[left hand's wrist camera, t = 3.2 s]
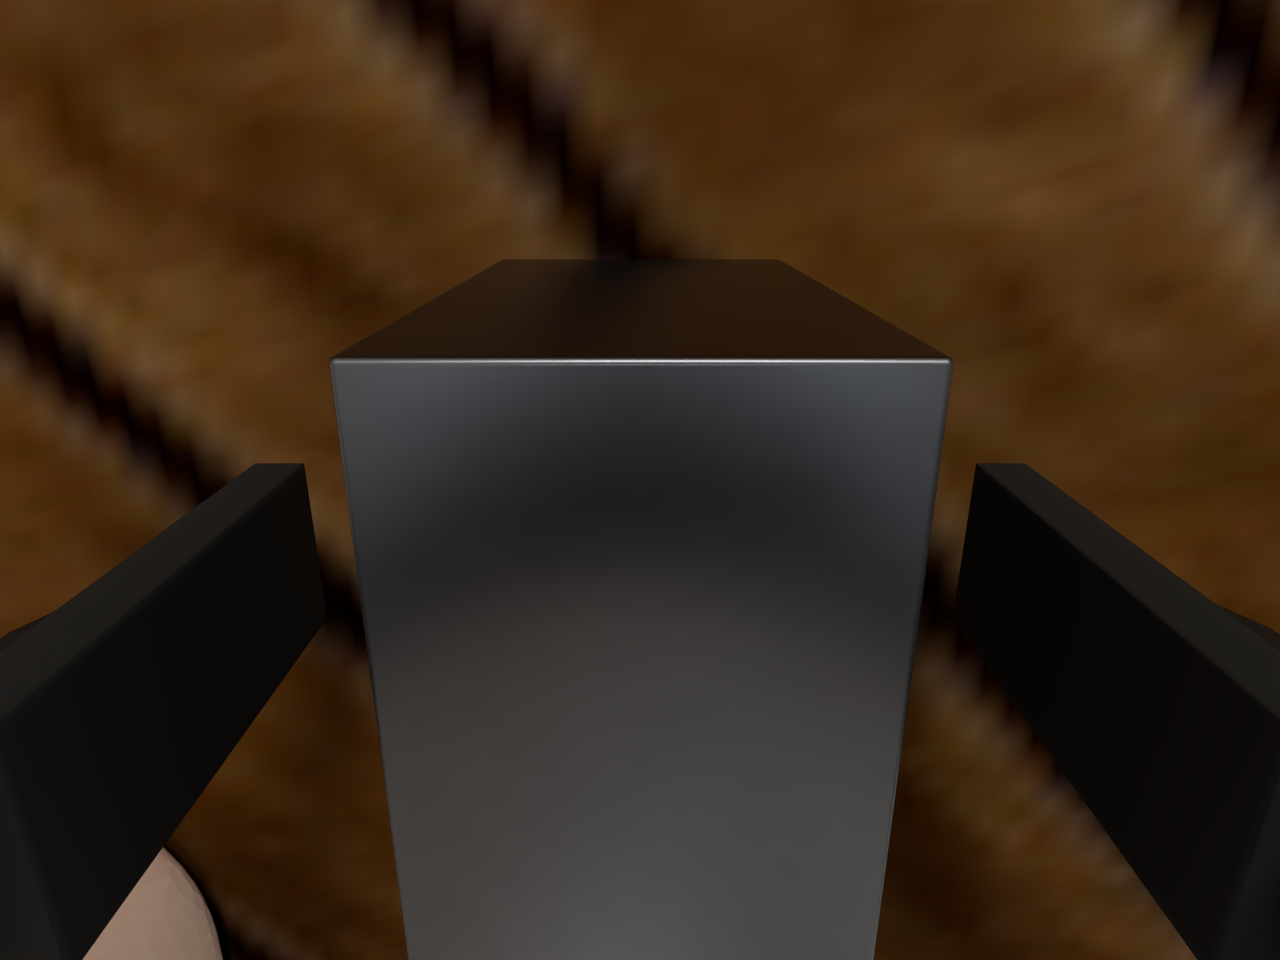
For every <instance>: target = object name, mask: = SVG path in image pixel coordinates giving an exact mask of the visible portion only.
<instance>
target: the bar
mask: <svg viewBox="0 0 1280 960" xmlns="http://www.w3.org/2000/svg"><path fill="white" fill-rule="evenodd" d="M329 367H330V375H331V382H332V390H333V397H334V405H335V412H336V420H337V427H338V435H339V442H340V450H341V457H342V465H343V472H344V480H345V487H346V495H347V502H348V510H349V517H350V525H351V532H352V540H353V547H354V555H355V562H356V570H357V577H358V585H359V592H360V600H361V607H362V615H363V622H364V630H365V637H366V645H367V652H368V660H369V667H370V675H371V682H372V690H373V697H374V705H375V712H376V720H377V727H378V735H379V742H380V750H381V757H382V765H383V772H384V780H385V787H386V795H387V802H388V810H389V817H390V825H391V832H392V840H393V847H394V855H395V862H396V870H397V877H398V885H399V892H400V900H401V907H402V915H403V922H404V930H405V937H406V945H407V952H408V960H873V958H874V951H875V944H876V936H877V929H878V921H879V914H880V906H881V899H882V891H883V884H884V877H885V869H886V862H887V854H888V847H889V839H890V832H891V824H892V817H893V810H894V802H895V795H896V787H897V780H898V772H899V765H900V757H901V750H902V743H903V735H904V728H905V720H906V713H907V705H908V698H909V690H910V683H911V676H912V668H913V661H914V653H915V646H916V638H917V631H918V623H919V616H920V609H921V601H922V594H923V586H924V579H925V571H926V564H927V556H928V549H929V542H930V534H931V527H932V519H933V512H934V504H935V497H936V489H937V482H938V475H939V467H940V460H941V452H942V445H943V437H944V430H945V422H946V415H947V408H948V400H949V393H950V385H951V378H952V370H953V361H952V358H950V357H949V356H947V355H945V354H943V353H942V352H940V351H938V350H936V349H935V348H933V347H931V346H929V345H928V344H926V343H924V342H922V341H921V340H919V339H917V338H915V337H914V336H912V335H910V334H908V333H907V332H905V331H903V330H901V329H900V328H898V327H896V326H894V325H893V324H891V323H889V322H887V321H886V320H884V319H882V318H880V317H879V316H877V315H875V314H873V313H872V312H870V311H868V310H866V309H865V308H863V307H861V306H859V305H858V304H856V303H854V302H852V301H851V300H849V299H847V298H845V297H844V296H842V295H840V294H838V293H837V292H835V291H833V290H831V289H830V288H828V287H826V286H824V285H823V284H821V283H819V282H817V281H816V280H814V279H812V278H810V277H809V276H807V275H805V274H803V273H802V272H800V271H798V270H796V269H795V268H793V267H791V266H789V265H788V264H786V263H784V262H782V261H780V260H502V261H500V262H498V263H496V264H494V265H493V266H491V267H489V268H487V269H486V270H484V271H482V272H480V273H479V274H477V275H475V276H473V277H472V278H470V279H468V280H466V281H465V282H463V283H461V284H459V285H458V286H456V287H454V288H452V289H451V290H449V291H447V292H445V293H444V294H442V295H440V296H438V297H437V298H435V299H433V300H431V301H430V302H428V303H426V304H424V305H423V306H421V307H419V308H417V309H416V310H414V311H412V312H410V313H409V314H407V315H405V316H403V317H402V318H400V319H398V320H396V321H395V322H393V323H391V324H389V325H388V326H386V327H384V328H382V329H381V330H379V331H377V332H375V333H374V334H372V335H370V336H368V337H367V338H365V339H363V340H361V341H360V342H358V343H356V344H354V345H353V346H351V347H349V348H348V349H346V350H344V351H342V352H341V353H339V354H337V355H335V356H334V357H332V358H331V359H330V362H329Z"/></svg>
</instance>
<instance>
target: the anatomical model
mask: <svg viewBox="0 0 1280 960" xmlns="http://www.w3.org/2000/svg"><path fill="white" fill-rule="evenodd" d="M83 960H223V956H222V951H221V947H220V942H219V938H218V933H217V930H216V927H215V925H214V922H213V919H212V916H211V913H210V911H209V909H208V906H207V904H206V902H205V900H204V897H203V896H202V894H201V892H200V891H199V889H198V887H197V886H196V884H195V883H194V881H193V880H192V879H191V877H190V876H189V874H188V873H187V872H186V870H185V869H184V868H183V866H182V865H181V864H180V863H179V862H178V861H177V860H176V859H175V858H174V857H173V856H172V855H171V854H170V853H169V852H168V851H167V850H166V849H165V848H164V847H163V848H162V849H161V851H160V852H159V853H158V855H157V856H156V858H155V859H154V860H153V862H152V863H151V865H150V866H149V867H148V869H147V870H146V872H145V873H144V874H143V876H142V877H141V879H140V880H139V881H138V883H137V884H136V886H135V887H134V888H133V890H132V891H131V893H130V894H129V895H128V897H127V898H126V900H125V901H124V902H123V904H122V905H121V907H120V908H119V909H118V911H117V912H116V914H115V915H114V916H113V918H112V919H111V921H110V922H109V923H108V925H107V926H106V928H105V929H104V930H103V932H102V933H101V935H100V936H99V937H98V939H97V940H96V942H95V943H94V944H93V946H92V947H91V949H90V950H89V951H88V953H87V954H86V956H85V957H84V958H83Z"/></svg>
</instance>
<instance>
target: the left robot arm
mask: <svg viewBox="0 0 1280 960" xmlns="http://www.w3.org/2000/svg"><path fill="white" fill-rule="evenodd" d="M326 619H327V614H326V607H325V601H324V594H323V587H322V581H321V574H320V567H319V561H318V554H317V548H316V541H315V534H314V528H313V521H312V514H311V508H310V501H309V495H308V488H307V481H306V475H305V468H304V464H254V465H253V466H251V467H250V468H248V469H247V470H246V471H244V472H243V473H242V474H240V475H239V476H238V477H236V478H235V479H234V480H232V481H231V482H229V483H228V484H227V485H225V486H224V487H223V488H221V489H220V490H219V491H217V492H216V493H215V494H213V495H212V496H210V497H209V498H208V499H206V500H205V501H204V502H202V503H201V504H200V505H198V506H197V507H196V508H194V509H193V510H191V511H190V512H189V513H187V514H186V515H185V516H183V517H182V518H181V519H179V520H178V521H177V522H175V523H174V524H172V525H171V526H170V527H168V528H167V529H166V530H164V531H163V532H162V533H160V534H159V535H158V536H156V537H155V538H153V539H152V540H151V541H149V542H148V543H147V544H145V545H144V546H143V547H141V548H140V549H139V550H137V551H136V552H134V553H133V554H132V555H130V556H129V557H128V558H126V559H125V560H124V561H122V562H121V563H120V564H118V565H117V566H115V567H114V568H113V569H111V570H110V571H109V572H107V573H106V574H105V575H103V576H102V577H101V578H99V579H98V580H96V581H95V582H94V583H92V584H91V585H90V586H88V587H87V588H86V589H84V590H83V591H81V592H80V593H79V594H77V595H76V596H75V597H73V598H72V599H71V600H69V601H68V602H67V603H65V604H64V605H62V606H61V607H60V608H58V609H57V610H56V611H54V612H52V613H50V614H48V615H46V616H44V617H42V618H39V619H37V620H35V621H33V622H31V623H29V624H27V625H24V626H22V627H20V628H18V629H16V630H14V631H11V632H9V633H8V634H6V635H5V636H4V637H2V638H1V639H0V960H83V958H84V957H85V956H86V954H87V953H88V951H89V950H90V949H91V947H92V946H93V944H94V943H95V942H96V940H97V939H98V937H99V936H100V935H101V933H102V932H103V930H104V929H105V928H106V926H107V925H108V923H109V922H110V921H111V919H112V918H113V916H114V915H115V914H116V912H117V911H118V909H119V908H120V907H121V905H122V904H123V902H124V901H125V900H126V898H127V897H128V895H129V894H130V893H131V891H132V890H133V888H134V887H135V886H136V884H137V883H138V881H139V880H140V879H141V877H142V876H143V874H144V873H145V872H146V870H147V869H148V867H149V866H150V865H151V863H152V862H153V860H154V859H155V858H156V856H157V855H158V853H159V852H160V851H161V849H162V848H163V846H164V845H165V844H166V842H167V841H168V839H169V838H170V837H171V835H172V834H173V832H174V831H175V830H176V828H177V827H178V826H179V824H180V823H181V821H182V820H183V819H184V817H185V816H186V814H187V813H188V812H189V810H190V809H191V807H192V806H193V805H194V803H195V802H196V800H197V799H198V798H199V796H200V795H201V793H202V792H203V791H204V789H205V788H206V786H207V785H208V784H209V782H210V781H211V779H212V778H213V777H214V775H215V774H216V772H217V771H218V770H219V768H220V767H221V765H222V764H223V763H224V761H225V760H226V758H227V757H228V756H229V754H230V753H231V751H232V750H233V749H234V747H235V746H236V744H237V743H238V742H239V740H240V739H241V737H242V736H243V735H244V733H245V732H246V730H247V729H248V728H249V726H250V725H251V723H252V722H253V721H254V719H255V718H256V716H257V715H258V714H259V712H260V711H261V709H262V708H263V707H264V705H265V704H266V702H267V701H268V700H269V698H270V697H271V695H272V694H273V693H274V691H275V690H276V688H277V687H278V686H279V684H280V683H281V681H282V680H283V679H284V677H285V676H286V674H287V673H288V672H289V670H290V669H291V667H292V666H293V665H294V663H295V662H296V660H297V659H298V658H299V656H300V655H301V654H302V652H303V651H304V649H305V648H306V647H307V645H308V644H309V642H310V641H311V640H312V638H313V637H314V635H315V634H316V633H317V631H318V630H319V628H320V627H321V626H322V624H323V623H324V621H325V620H326ZM953 619H954V620H955V621H956V623H957V624H958V626H959V627H960V628H961V630H962V631H963V633H964V634H965V635H966V637H967V638H968V639H969V641H970V642H971V644H972V645H973V646H974V648H975V649H976V651H977V652H978V653H979V655H980V656H981V658H982V659H983V660H984V662H985V663H986V665H987V666H988V667H989V669H990V670H991V672H992V673H993V674H994V676H995V677H996V679H997V680H998V681H999V683H1000V684H1001V686H1002V687H1003V688H1004V690H1005V691H1006V693H1007V694H1008V695H1009V697H1010V698H1011V700H1012V701H1013V702H1014V704H1015V705H1016V707H1017V708H1018V709H1019V711H1020V712H1021V714H1022V715H1023V716H1024V718H1025V719H1026V721H1027V722H1028V723H1029V725H1030V726H1031V728H1032V729H1033V730H1034V732H1035V733H1036V735H1037V736H1038V737H1039V739H1040V740H1041V742H1042V743H1043V744H1044V746H1045V747H1046V749H1047V750H1048V751H1049V753H1050V754H1051V756H1052V757H1053V758H1054V760H1055V761H1056V763H1057V764H1058V765H1059V767H1060V768H1061V770H1062V771H1063V772H1064V774H1065V775H1066V777H1067V778H1068V779H1069V781H1070V782H1071V784H1072V785H1073V786H1074V788H1075V789H1076V791H1077V792H1078V793H1079V795H1080V796H1081V798H1082V799H1083V800H1084V802H1085V803H1086V805H1087V806H1088V807H1089V809H1090V810H1091V811H1092V813H1093V814H1094V816H1095V817H1096V818H1097V820H1098V821H1099V823H1100V824H1101V825H1102V827H1103V828H1104V830H1105V831H1106V832H1107V834H1108V835H1109V837H1110V838H1111V839H1112V841H1113V842H1114V844H1115V845H1116V846H1117V848H1118V849H1119V851H1120V852H1121V853H1122V855H1123V856H1124V858H1125V859H1126V860H1127V862H1128V863H1129V865H1130V866H1131V867H1132V869H1133V870H1134V872H1135V873H1136V874H1137V876H1138V877H1139V879H1140V880H1141V881H1142V883H1143V884H1144V886H1145V887H1146V888H1147V890H1148V891H1149V893H1150V894H1151V895H1152V897H1153V898H1154V900H1155V901H1156V902H1157V904H1158V905H1159V907H1160V908H1161V909H1162V911H1163V912H1164V914H1165V915H1166V916H1167V918H1168V919H1169V921H1170V922H1171V923H1172V925H1173V926H1174V928H1175V929H1176V930H1177V932H1178V933H1179V935H1180V936H1181V937H1182V939H1183V940H1184V942H1185V943H1186V944H1187V946H1188V947H1189V949H1190V950H1191V951H1192V953H1193V954H1194V956H1195V957H1196V958H1197V960H1280V635H1279V634H1278V633H1276V632H1275V631H1273V630H1272V629H1270V628H1268V627H1265V626H1263V625H1261V624H1259V623H1257V622H1255V621H1252V620H1250V619H1248V618H1246V617H1244V616H1241V615H1239V614H1237V613H1235V612H1233V611H1231V610H1228V609H1226V608H1220V607H1219V606H1218V605H1216V604H1215V603H1213V602H1212V601H1211V600H1209V599H1208V598H1207V597H1205V596H1204V595H1203V594H1201V593H1200V592H1199V591H1197V590H1196V589H1194V588H1193V587H1192V586H1190V585H1189V584H1188V583H1186V582H1185V581H1184V580H1182V579H1181V578H1180V577H1178V576H1177V575H1175V574H1174V573H1173V572H1171V571H1170V570H1169V569H1167V568H1166V567H1165V566H1163V565H1162V564H1161V563H1159V562H1158V561H1156V560H1155V559H1154V558H1152V557H1151V556H1150V555H1148V554H1147V553H1146V552H1144V551H1143V550H1141V549H1140V548H1139V547H1137V546H1136V545H1135V544H1133V543H1132V542H1131V541H1129V540H1128V539H1127V538H1125V537H1124V536H1122V535H1121V534H1120V533H1118V532H1117V531H1116V530H1114V529H1113V528H1112V527H1110V526H1109V525H1108V524H1106V523H1105V522H1103V521H1102V520H1101V519H1099V518H1098V517H1097V516H1095V515H1094V514H1093V513H1091V512H1090V511H1089V510H1087V509H1086V508H1084V507H1083V506H1082V505H1080V504H1079V503H1078V502H1076V501H1075V500H1074V499H1072V498H1071V497H1070V496H1068V495H1067V494H1065V493H1064V492H1063V491H1061V490H1060V489H1059V488H1057V487H1056V486H1055V485H1053V484H1052V483H1051V482H1049V481H1048V480H1046V479H1045V478H1044V477H1042V476H1041V475H1040V474H1038V473H1037V472H1036V471H1034V470H1033V469H1032V468H1030V467H1029V466H1027V465H1026V464H976V468H975V475H974V481H973V488H972V495H971V501H970V508H969V515H968V521H967V528H966V534H965V541H964V548H963V554H962V561H961V568H960V574H959V581H958V587H957V594H956V601H955V607H954V614H953Z"/></svg>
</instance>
